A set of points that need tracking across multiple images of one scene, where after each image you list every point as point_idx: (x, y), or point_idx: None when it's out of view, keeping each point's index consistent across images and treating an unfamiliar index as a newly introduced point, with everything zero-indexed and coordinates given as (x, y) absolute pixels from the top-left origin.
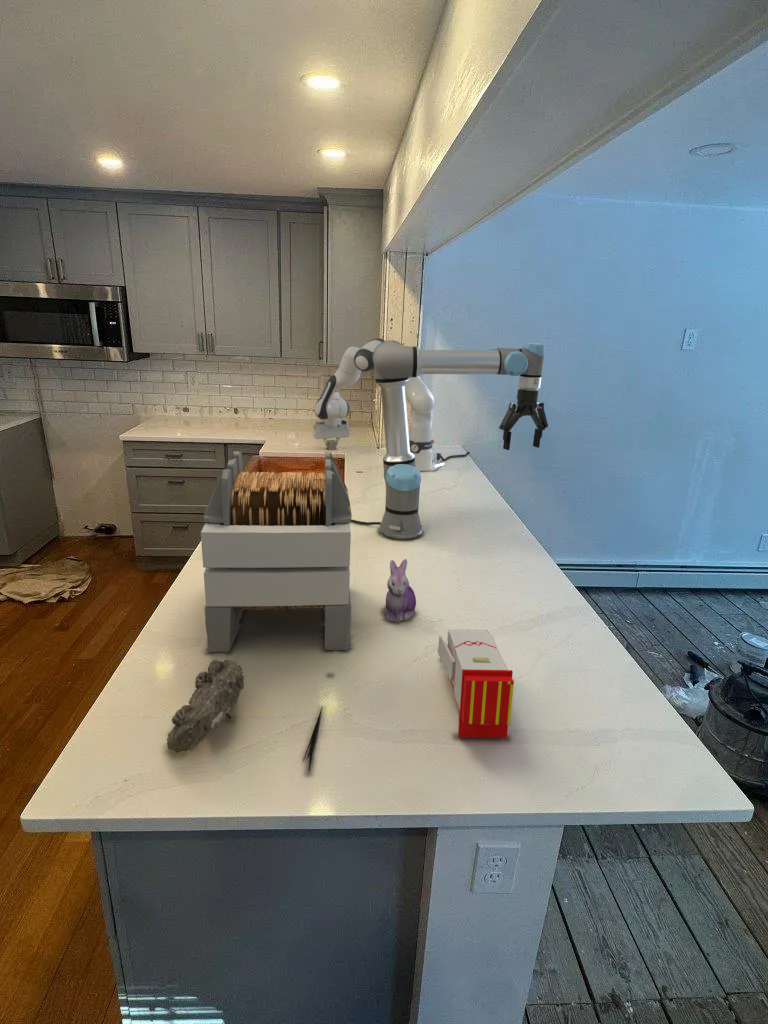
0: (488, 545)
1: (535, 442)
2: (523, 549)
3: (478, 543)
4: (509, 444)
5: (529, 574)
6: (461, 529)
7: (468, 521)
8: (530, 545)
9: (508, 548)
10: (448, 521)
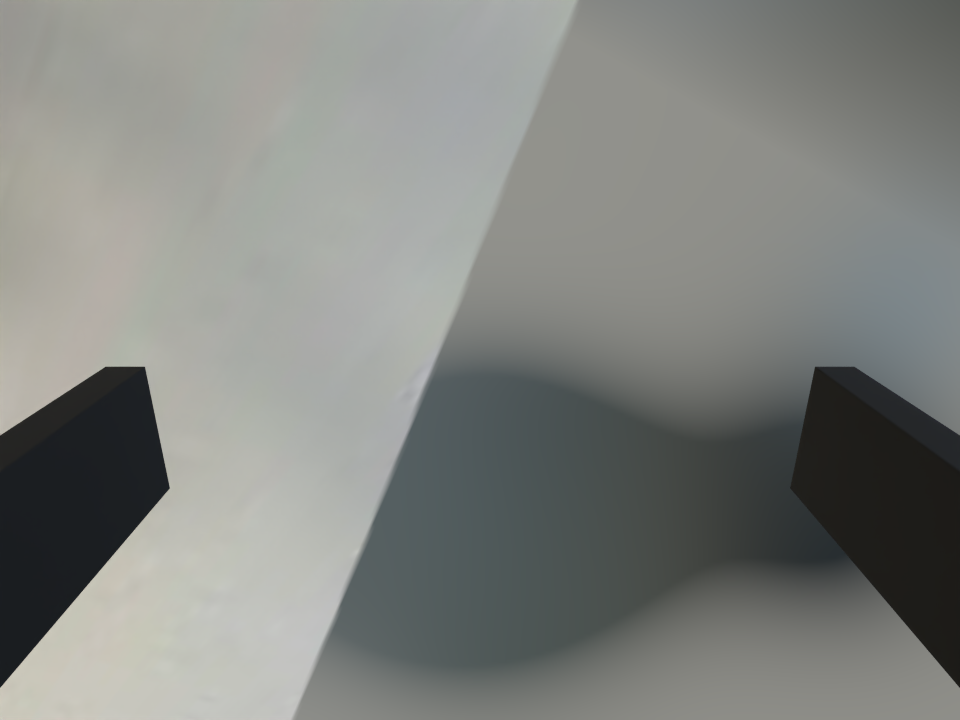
0: (174, 438)
1: (847, 466)
2: (313, 520)
3: None
4: (103, 549)
5: (204, 680)
6: (122, 214)
7: (221, 110)
8: (372, 498)
9: (251, 492)
10: (89, 62)
